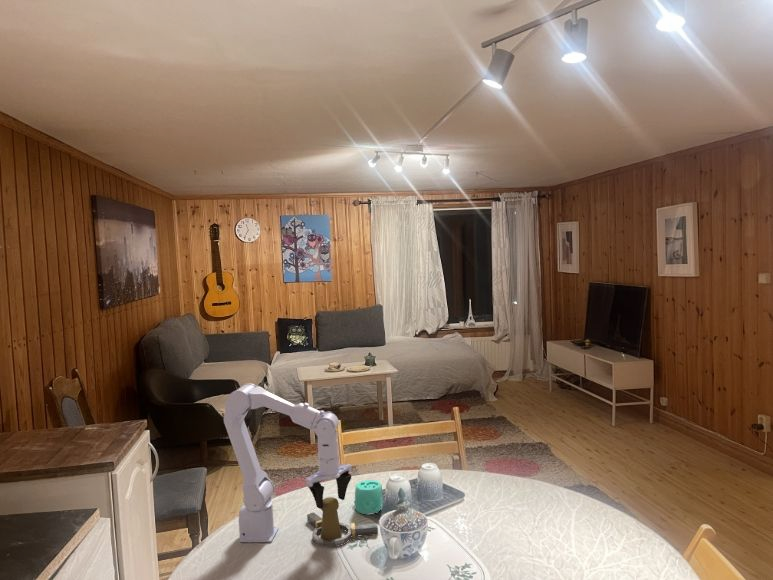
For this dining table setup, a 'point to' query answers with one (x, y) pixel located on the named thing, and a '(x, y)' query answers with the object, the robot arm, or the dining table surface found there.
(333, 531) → the olive tapered pawn
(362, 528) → the grey handled ring
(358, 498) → the teal tapered cylinder
